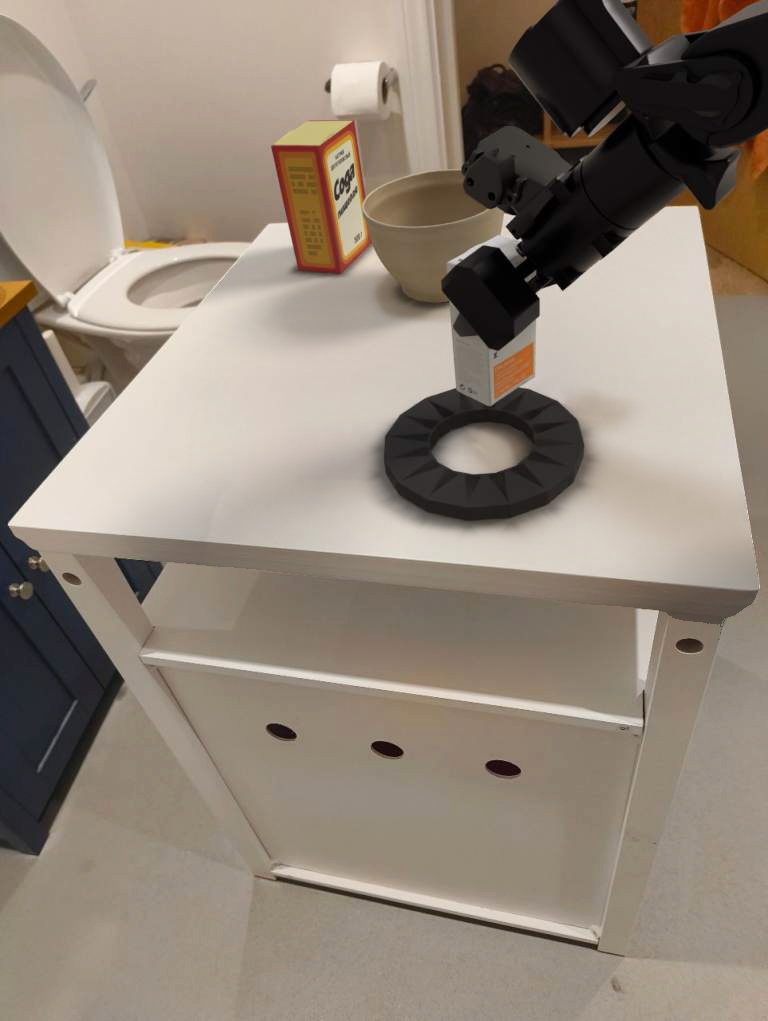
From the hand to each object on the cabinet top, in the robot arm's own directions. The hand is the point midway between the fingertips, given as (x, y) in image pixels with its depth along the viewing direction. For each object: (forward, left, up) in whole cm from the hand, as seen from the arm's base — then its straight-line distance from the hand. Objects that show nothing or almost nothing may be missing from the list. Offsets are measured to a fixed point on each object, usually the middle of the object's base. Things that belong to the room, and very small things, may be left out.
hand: (480, 312), depth 61 cm
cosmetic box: (-1, +1, -7) cm, 7 cm away
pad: (+1, +5, -11) cm, 12 cm away
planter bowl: (+4, -28, -11) cm, 31 cm away
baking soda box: (+18, -40, -11) cm, 46 cm away
